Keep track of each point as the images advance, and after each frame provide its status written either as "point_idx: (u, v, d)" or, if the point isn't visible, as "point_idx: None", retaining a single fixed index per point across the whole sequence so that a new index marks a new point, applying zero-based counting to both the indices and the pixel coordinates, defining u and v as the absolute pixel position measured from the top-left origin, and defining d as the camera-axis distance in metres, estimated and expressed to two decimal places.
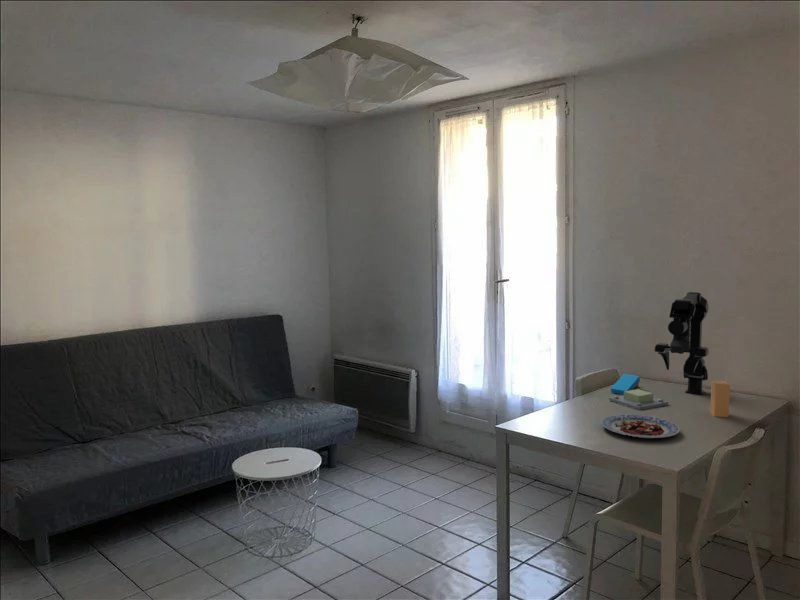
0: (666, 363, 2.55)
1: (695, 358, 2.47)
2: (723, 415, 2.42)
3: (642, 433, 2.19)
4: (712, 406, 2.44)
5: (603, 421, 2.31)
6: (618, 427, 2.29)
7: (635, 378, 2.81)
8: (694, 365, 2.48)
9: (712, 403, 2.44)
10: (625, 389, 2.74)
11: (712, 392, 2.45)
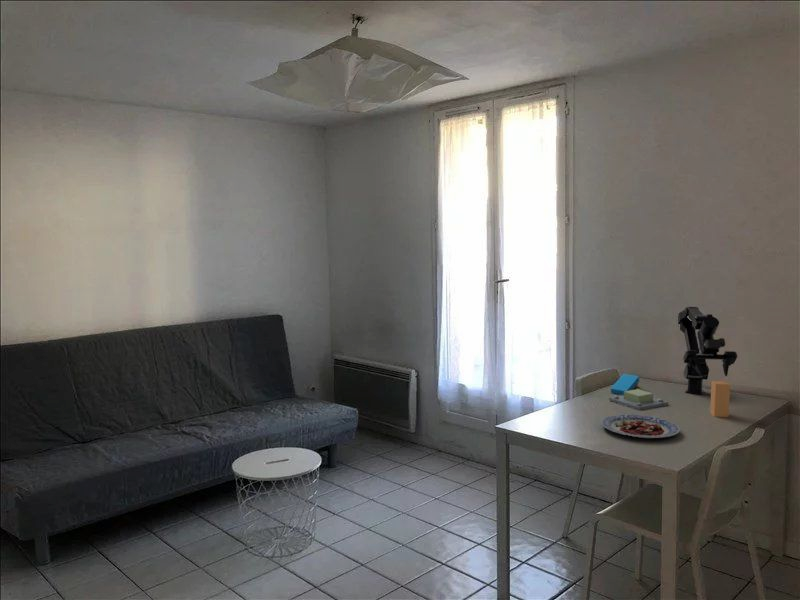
0: (699, 367, 2.52)
1: (728, 359, 2.52)
2: (723, 415, 2.42)
3: (642, 433, 2.19)
4: (712, 406, 2.44)
5: (603, 421, 2.31)
6: (618, 427, 2.29)
7: (635, 378, 2.81)
8: (727, 367, 2.51)
9: (712, 403, 2.44)
10: (625, 389, 2.74)
11: (712, 392, 2.45)
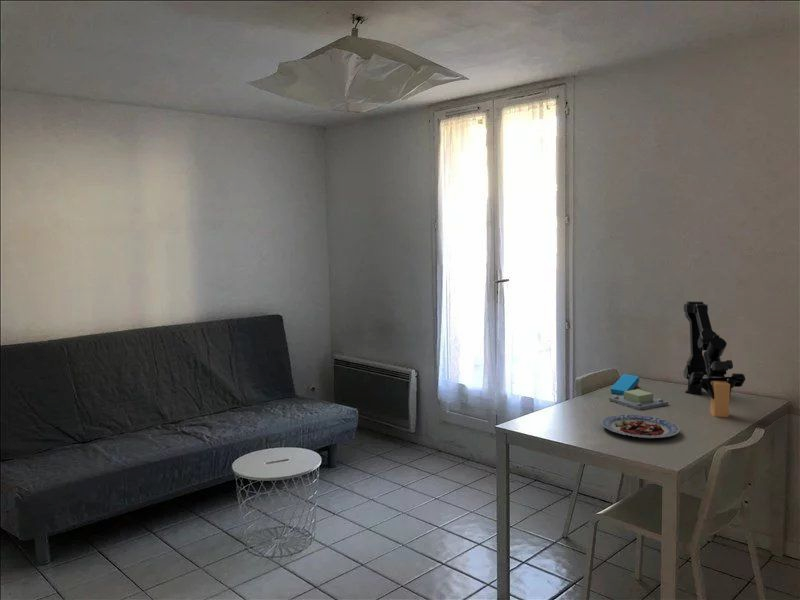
0: (711, 390, 2.44)
1: (730, 381, 2.43)
2: (723, 415, 2.42)
3: (642, 433, 2.19)
4: (712, 406, 2.44)
5: (603, 421, 2.31)
6: (618, 427, 2.29)
7: (635, 378, 2.81)
8: None
9: (712, 403, 2.44)
10: (625, 389, 2.74)
11: None
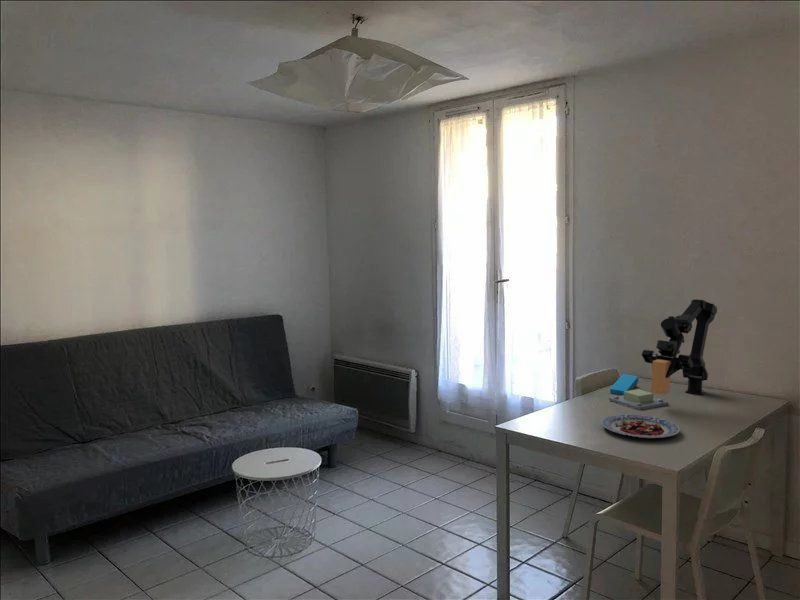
0: None
1: (672, 361, 2.50)
2: (659, 392, 2.51)
3: (642, 433, 2.19)
4: None
5: (603, 421, 2.31)
6: (618, 427, 2.29)
7: (634, 378, 2.81)
8: (669, 369, 2.50)
9: None
10: (624, 389, 2.74)
11: None
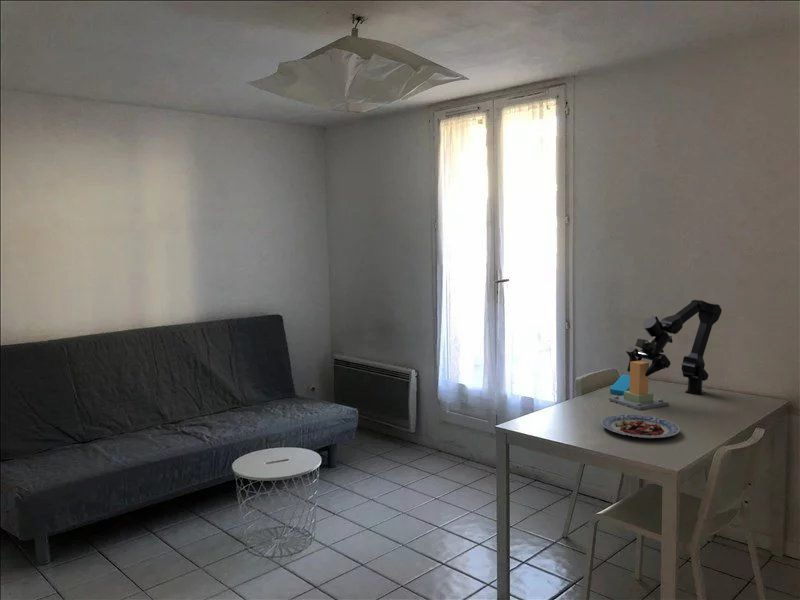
0: (629, 364, 2.65)
1: (653, 360, 2.55)
2: (635, 392, 2.60)
3: (642, 433, 2.19)
4: None
5: (603, 421, 2.31)
6: (618, 427, 2.29)
7: None
8: (649, 368, 2.56)
9: None
10: (624, 389, 2.73)
11: None
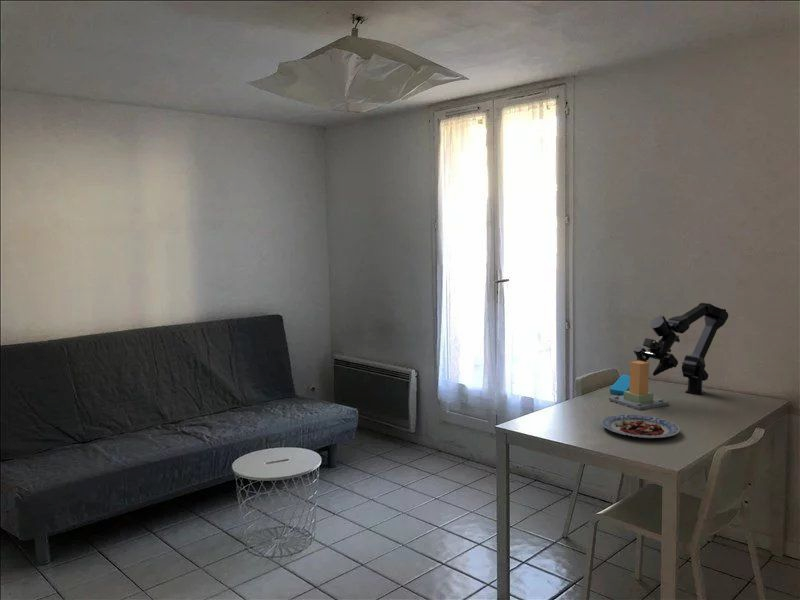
0: None
1: (661, 360, 2.57)
2: (635, 392, 2.60)
3: (642, 433, 2.19)
4: None
5: (603, 421, 2.31)
6: (618, 427, 2.29)
7: None
8: (657, 367, 2.58)
9: None
10: (624, 390, 2.73)
11: None
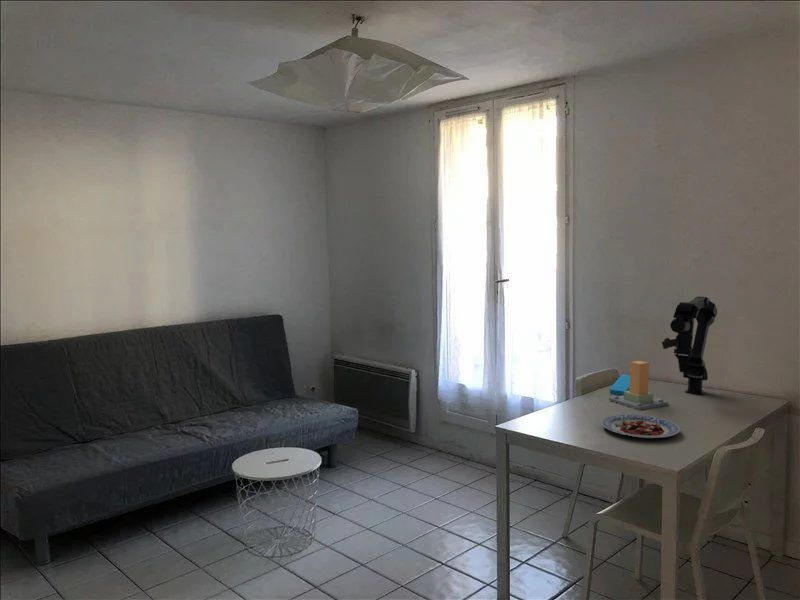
0: None
1: (676, 356, 2.58)
2: (635, 392, 2.60)
3: (642, 433, 2.19)
4: None
5: (603, 421, 2.31)
6: (618, 427, 2.29)
7: None
8: None
9: None
10: (624, 390, 2.73)
11: None
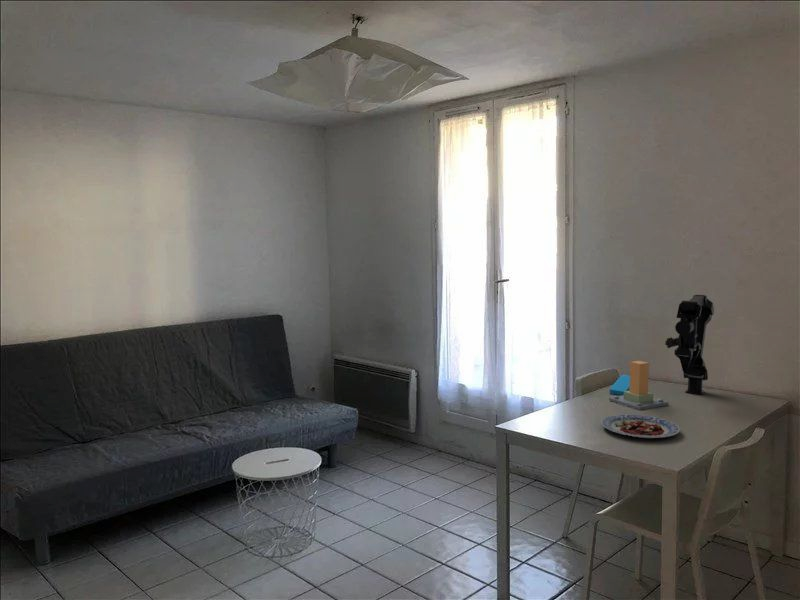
0: None
1: None
2: (635, 392, 2.60)
3: (642, 433, 2.19)
4: None
5: (603, 421, 2.31)
6: (618, 427, 2.29)
7: None
8: None
9: None
10: (624, 390, 2.73)
11: None
